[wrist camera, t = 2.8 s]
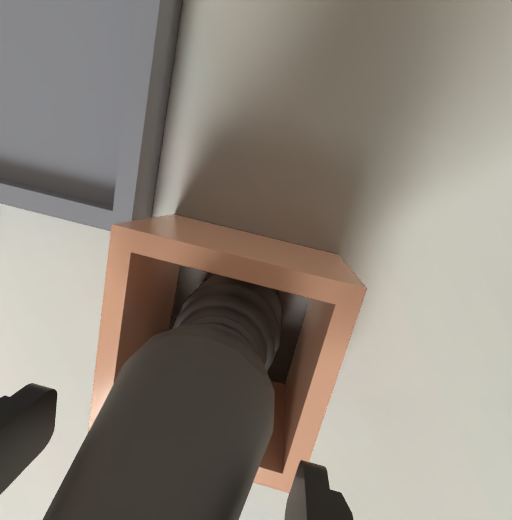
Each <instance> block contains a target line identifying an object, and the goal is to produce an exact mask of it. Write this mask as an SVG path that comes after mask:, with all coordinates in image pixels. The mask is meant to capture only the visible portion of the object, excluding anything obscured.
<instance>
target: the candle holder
mask: <svg viewBox="0 0 512 520" xmlns="http://www.w3.org/2000/svg"><path fill="white" fill-rule="evenodd" d="M281 318H282V304H281V302H280V299H279V297H278V294H277V292H276V289H273V288H269V287H265V286H261V285H257V284H253V283H249V282H245V281H241V280H237V279H234V278H230V277H226V276H222V275H218V274H212V275H211V276H210V277H209V278H208V279H207V280H206V281H205V282H204V283H203V284H202V285H201V286H200V287H199V288H198V289H197V290H196V291H195V292H194V293H193V294H192V295H191V296H190V297H189V298H188V299H187V300H186V301H185V302H184V303H183V306H182V308H181V311H180V313H179V314H178V316H177V318H176V321H175V323H174V326H173V329H171V330H168V331H165V332H162V333H159V334H157V335H155V336H152V337H151V338H150V339H149V340H148V341H147V342H146V343H145V344H144V345H143V346H142V347H141V348H139V349H138V350H137V351H136V352H135V353H134V354H133V355H132V356H131V357H130V358H129V359H128V360H127V361H126V362H125V363H124V365H123V367H122V369H121V370H120V372H119V374H118V376H117V378H116V380H115V382H114V384H113V386H112V388H111V390H110V392H109V394H108V396H107V398H106V400H105V402H104V404H103V406H102V407H101V409H100V411H99V413H98V415H97V417H96V419H95V421H94V423H93V425H92V427H91V429H90V430H89V432H88V434H87V436H86V438H85V440H84V442H83V444H82V446H81V448H80V450H79V451H78V453H77V455H76V457H75V459H74V461H73V463H72V465H71V467H70V469H69V470H68V472H67V474H66V476H65V478H64V480H63V482H62V484H61V486H60V488H59V490H58V491H57V493H56V495H55V497H54V499H53V501H52V503H51V505H50V507H49V509H48V511H47V512H46V514H45V516H44V518H43V520H239V517H240V515H241V512H242V509H243V507H244V504H245V502H246V499H247V496H248V494H249V491H250V489H251V486H252V483H253V481H254V478H255V476H256V473H257V471H258V468H259V466H260V463H261V461H262V458H263V456H264V453H265V451H266V448H267V446H268V443H269V441H270V438H271V436H272V433H273V424H274V397H275V392H274V389H273V386H272V383H271V380H270V378H269V376H268V373H267V372H268V370H269V368H270V366H271V364H272V362H273V360H274V356H275V354H276V352H277V350H278V348H279V346H280V335H281Z"/></svg>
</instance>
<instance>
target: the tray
mask: <svg viewBox="0 0 512 520" xmlns="http://www.w3.org/2000/svg"><path fill="white" fill-rule="evenodd" d="M182 1H183V0H0V203H1V204H5V205H9V206H13V207H17V208H21V209H25V210H29V211H33V212H37V213H41V214H45V215H49V216H53V217H57V218H61V219H64V220H68V221H72V222H76V223H80V224H84V225H88V226H92V227H96V228H100V229H104V230H108V231H111V226H112V224H116V223H123V222H129V221H135V220H141V219H148V218H151V215H152V208H153V201H154V194H155V187H156V180H157V173H158V166H159V159H160V153H161V146H162V139H163V132H164V125H165V118H166V111H167V104H168V97H169V90H170V83H171V77H172V70H173V63H174V56H175V49H176V42H177V35H178V28H179V21H180V14H181V8H182Z"/></svg>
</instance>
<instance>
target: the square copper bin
mask: <svg viewBox="0 0 512 520" xmlns="http://www.w3.org/2000/svg"><path fill="white" fill-rule="evenodd" d="M180 265H183V266H187V267H191V268H194V269H198V270H202V271H206V272H210V273H214V274H218V275H222V276H226V277H230V278H234V279H237V280H241V281H245V282H249V283H253V284H257V285H261V286H265V287H269V288H273V289H277V290H280V291H284V292H288V293H292V294H296V295H300V296H304V297H308V298H310V300H309V303H308V307H307V310H306V314H305V317H304V321H303V324H302V327H301V331H300V334H299V338H298V341H297V345H296V348H295V352H294V355H293V359H292V362H291V365H290V369H289V372H288V376H287V379H286V383H285V384H281V383H277V382H274V381H271V383H272V386H273V389H274V392H275V397H274V424H273V433H272V436H271V438H270V441H269V443H268V446H267V448H266V451H265V453H264V456H263V458H262V461H261V463H260V466H259V468H258V471H257V473H256V476H255V478H254V481H253V483H257V484H260V485H263V486H267V487H270V488H274V489H277V490H280V491H284V492H287V493H290V490H291V487H292V484H293V480H294V477H295V474H296V471H297V468H298V465H299V463H300V461H301V460H303V461H307V462H309V460H310V457H311V454H312V451H313V448H314V445H315V442H316V439H317V436H318V433H319V430H320V427H321V424H322V421H323V418H324V415H325V412H326V409H327V406H328V403H329V400H330V397H331V394H332V391H333V388H334V385H335V382H336V379H337V376H338V373H339V370H340V367H341V364H342V361H343V358H344V355H345V352H346V349H347V346H348V343H349V340H350V337H351V334H352V331H353V328H354V325H355V322H356V319H357V316H358V313H359V310H360V307H361V304H362V302H363V299H364V296H365V293H366V290H367V288H366V287H365V285H364V284H363V283H362V282H361V281H360V279H359V278H358V277H357V276H356V275H355V273H354V272H353V271H352V270H351V269H350V267H349V266H348V265H347V264H346V263H345V261H344V260H343V259H342V258H341V256H340V255H338V254H334V253H330V252H326V251H321V250H317V249H313V248H309V247H305V246H301V245H297V244H293V243H289V242H285V241H281V240H277V239H273V238H269V237H265V236H260V235H256V234H252V233H248V232H244V231H240V230H236V229H232V228H228V227H224V226H220V225H216V224H212V223H208V222H203V221H199V220H195V219H191V218H187V217H183V216H179V215H175V214H173V215H166V216H160V217H154V218H148V219H141V220H135V221H129V222H123V223H116V224H112V226H111V235H110V244H109V252H108V261H107V270H106V279H105V288H104V296H103V305H102V314H101V323H100V331H99V340H98V349H97V358H96V366H95V375H94V384H93V393H92V401H91V410H90V419H89V428H88V432H89V430H90V429H91V427H92V425H93V423H94V421H95V419H96V417H97V415H98V413H99V411H100V409H101V407H102V406H103V404H104V402H105V400H106V398H107V396H108V394H109V392H110V390H111V388H112V386H113V384H114V382H115V380H116V378H117V376H118V374H119V372H120V370H121V369H122V367H123V365H124V363H125V362H126V361H127V360H128V359H129V358H130V357H131V356H132V355H133V354H134V353H135V352H136V351H137V350H138V349H139V348H141V347H142V346H143V345H144V344H145V343H146V342H147V341H148V340H149V339H150V338H151V337H152V336H155V335H157V334H159V333H162V332H165V331H168V330H169V327H170V321H171V316H172V310H173V304H174V298H175V293H176V287H177V281H178V275H179V270H180Z"/></svg>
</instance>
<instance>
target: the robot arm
mask: <svg viewBox="0 0 512 520" xmlns="http://www.w3.org/2000/svg"><path fill="white" fill-rule="evenodd" d="M56 403H57V391H56V390H55V389H51V388H48V387H44V386H41V385H37V384H34V383H31V384H28V385H26V386H25V387H23V388H22V389H20V390H19V391H18V392H16V393H15V394H14V395H12V396H11V397H8V396H3V397H1V398H0V494H1V493H2V492H3V491H4V490H5V489H6V488H7V487H8V486H9V485H10V484H11V483H12V482H13V481H14V480H15V479H16V478H17V477H18V476H19V475H20V474H21V472H22V471H23V470H24V469H25V468H26V467H27V466H28V465H29V464H30V463H31V462H32V461H33V460H34V459H35V458H36V457H37V456H38V455H39V454H40V453H41V452H42V450H43V449H44V448H45V447H46V445H47V444H48V442H49V441H50V439H51V437H52V434H53V432H54V427H55V415H56ZM285 520H353V515H352V512H351V510H350V508H349V507H348V505H347V503H346V501H345V499H344V497H343V495H342V493H340V492H337V491H333V490H330V488H329V481H328V474H327V470H326V467H324V466H321V465H317V464H314V463H310V462H307V461H303V460H301V461H300V463H299V465H298V468H297V471H296V474H295V477H294V480H293V484H292V487H291V490H290V493H289V496H288V499H287V504H286V511H285Z"/></svg>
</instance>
